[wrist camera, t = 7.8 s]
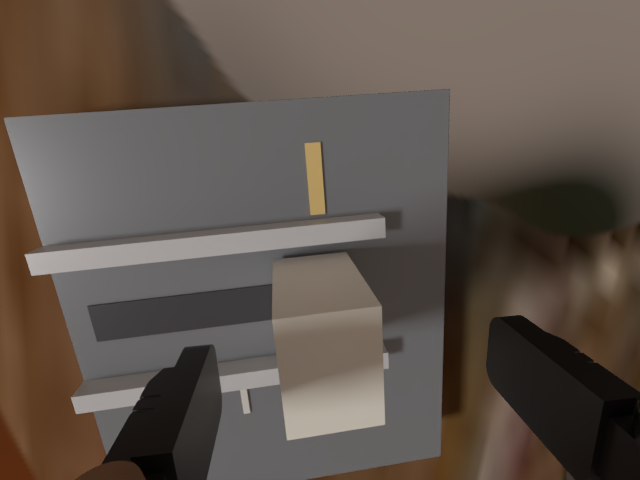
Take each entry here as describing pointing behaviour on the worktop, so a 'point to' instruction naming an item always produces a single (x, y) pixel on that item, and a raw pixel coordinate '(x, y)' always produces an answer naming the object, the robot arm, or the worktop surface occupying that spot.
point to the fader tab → (327, 346)
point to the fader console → (244, 256)
